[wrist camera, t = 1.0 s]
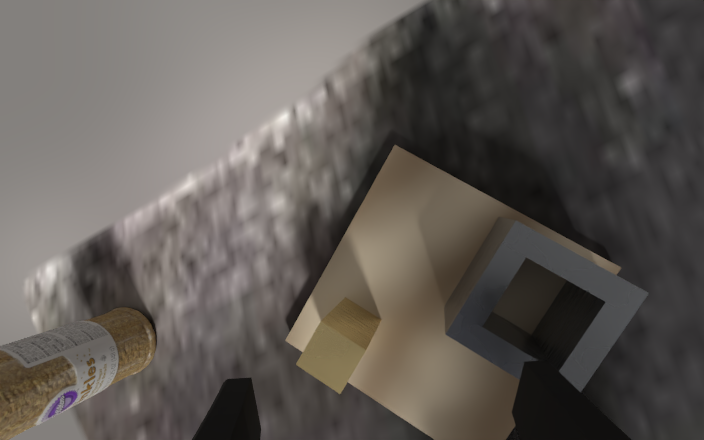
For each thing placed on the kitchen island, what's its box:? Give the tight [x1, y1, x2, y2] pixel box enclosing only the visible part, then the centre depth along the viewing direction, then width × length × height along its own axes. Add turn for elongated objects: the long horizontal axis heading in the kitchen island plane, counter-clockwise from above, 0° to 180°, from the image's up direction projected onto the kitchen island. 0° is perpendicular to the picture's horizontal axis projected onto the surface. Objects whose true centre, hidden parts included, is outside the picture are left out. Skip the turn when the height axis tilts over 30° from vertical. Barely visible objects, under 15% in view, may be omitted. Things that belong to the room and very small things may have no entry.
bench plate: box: [285, 145, 621, 440], centre depth 23 cm, size 13×13×1 cm
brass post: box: [296, 297, 381, 394], centre depth 22 cm, size 2×2×6 cm
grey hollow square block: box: [444, 217, 649, 392], centre depth 19 cm, size 6×6×5 cm
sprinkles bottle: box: [0, 307, 156, 440], centre depth 21 cm, size 5×5×14 cm
